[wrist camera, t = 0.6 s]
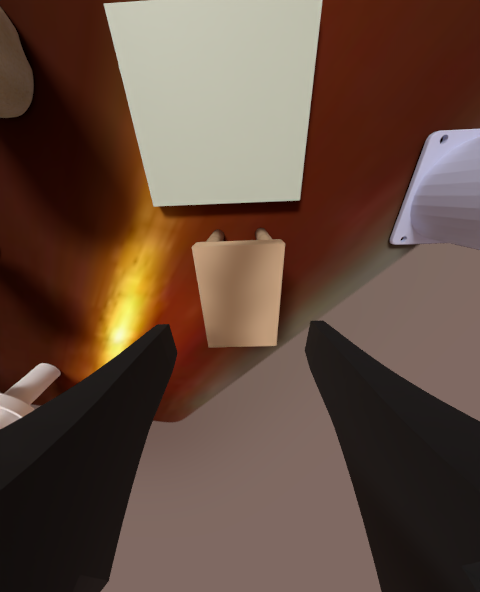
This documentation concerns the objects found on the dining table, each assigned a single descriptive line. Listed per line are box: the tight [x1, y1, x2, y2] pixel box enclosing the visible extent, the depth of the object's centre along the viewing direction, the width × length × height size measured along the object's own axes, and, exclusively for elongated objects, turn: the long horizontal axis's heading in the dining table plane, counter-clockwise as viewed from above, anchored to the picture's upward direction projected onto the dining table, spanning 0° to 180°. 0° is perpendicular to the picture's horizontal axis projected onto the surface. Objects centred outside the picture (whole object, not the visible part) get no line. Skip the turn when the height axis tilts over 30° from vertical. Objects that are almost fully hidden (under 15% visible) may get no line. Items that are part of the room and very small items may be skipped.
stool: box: [192, 228, 285, 347], centre depth 15 cm, size 5×8×7 cm
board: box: [104, 0, 322, 206], centre depth 13 cm, size 12×10×1 cm
